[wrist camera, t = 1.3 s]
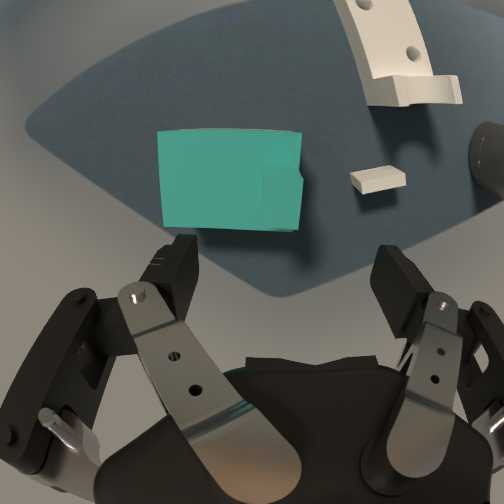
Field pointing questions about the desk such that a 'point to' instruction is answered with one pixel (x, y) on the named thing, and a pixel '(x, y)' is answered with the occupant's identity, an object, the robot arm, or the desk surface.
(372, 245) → the desk surface
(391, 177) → the eraser
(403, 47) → the bracket
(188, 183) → the lid
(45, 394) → the robot arm
